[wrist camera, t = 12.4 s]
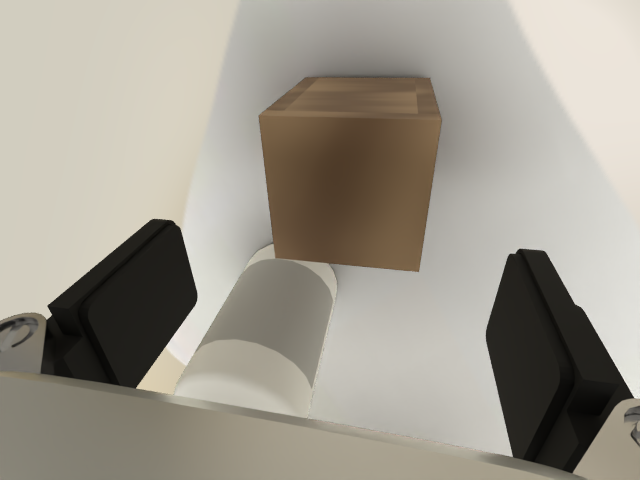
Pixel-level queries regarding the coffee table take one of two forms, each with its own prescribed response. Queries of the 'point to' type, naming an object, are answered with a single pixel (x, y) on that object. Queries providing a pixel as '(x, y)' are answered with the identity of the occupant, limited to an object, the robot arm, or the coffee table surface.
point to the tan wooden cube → (351, 170)
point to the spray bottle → (266, 338)
